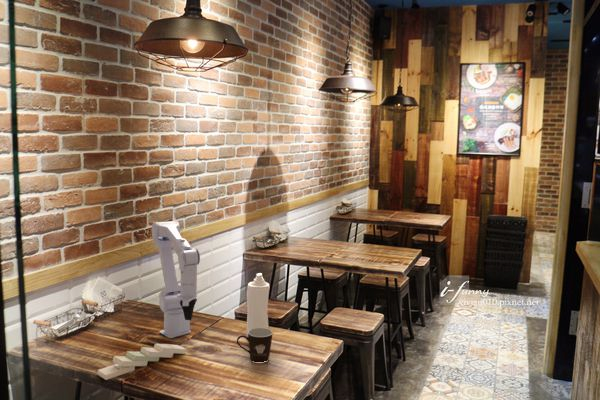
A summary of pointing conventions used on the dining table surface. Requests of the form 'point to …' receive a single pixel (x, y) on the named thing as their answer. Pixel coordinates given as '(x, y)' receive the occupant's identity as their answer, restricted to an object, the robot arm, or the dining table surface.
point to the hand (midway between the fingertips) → (188, 319)
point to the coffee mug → (258, 344)
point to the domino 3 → (140, 356)
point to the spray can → (257, 303)
